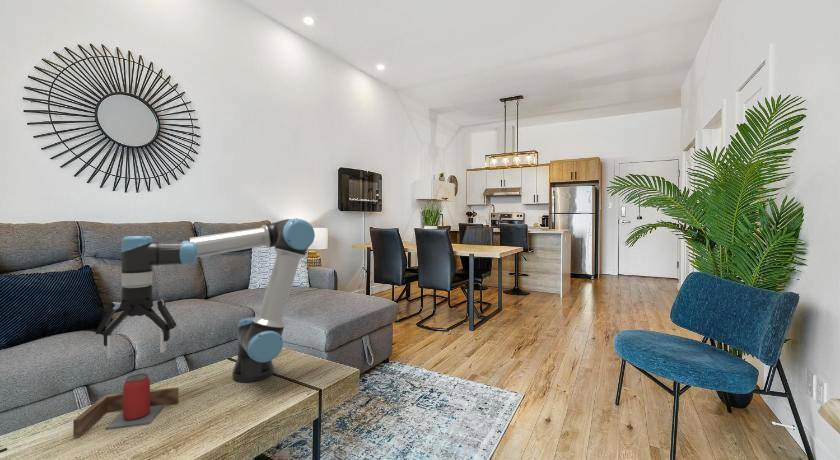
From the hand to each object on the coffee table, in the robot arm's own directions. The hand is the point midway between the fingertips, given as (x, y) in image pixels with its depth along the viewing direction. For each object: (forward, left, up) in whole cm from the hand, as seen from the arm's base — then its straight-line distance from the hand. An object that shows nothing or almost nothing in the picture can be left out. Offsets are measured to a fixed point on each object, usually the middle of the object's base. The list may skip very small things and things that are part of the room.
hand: (137, 353), depth 111 cm
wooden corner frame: (+2, 0, -20) cm, 20 cm away
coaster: (0, 0, -20) cm, 20 cm away
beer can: (0, 0, -19) cm, 19 cm away
